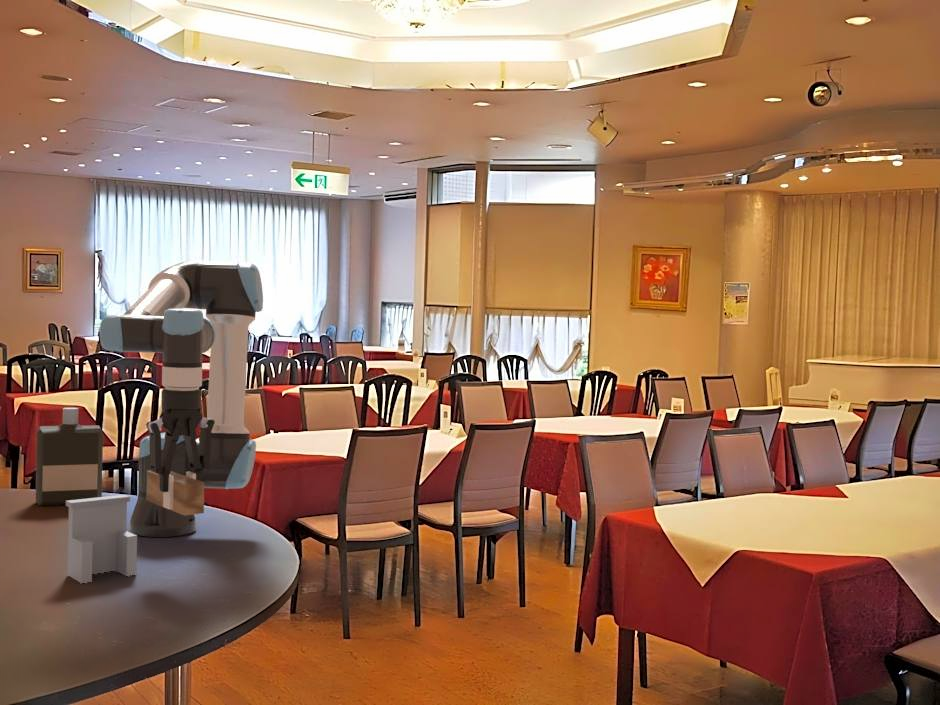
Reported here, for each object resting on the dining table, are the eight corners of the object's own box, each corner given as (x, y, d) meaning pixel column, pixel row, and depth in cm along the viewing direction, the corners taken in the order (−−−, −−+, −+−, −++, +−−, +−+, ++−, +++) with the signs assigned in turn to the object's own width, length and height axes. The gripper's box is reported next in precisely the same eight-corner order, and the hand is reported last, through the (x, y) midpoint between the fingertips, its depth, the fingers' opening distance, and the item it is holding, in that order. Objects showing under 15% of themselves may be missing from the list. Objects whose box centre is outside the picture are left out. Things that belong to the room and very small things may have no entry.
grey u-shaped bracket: (122, 566, 209) (124, 494, 208) (138, 574, 203) (140, 500, 202) (64, 575, 200) (65, 500, 200) (78, 584, 195) (80, 507, 194)
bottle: (35, 501, 268) (37, 406, 267) (99, 498, 275) (101, 406, 274) (36, 507, 261) (38, 410, 260) (102, 504, 268) (104, 409, 266)
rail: (163, 497, 208) (164, 468, 208) (203, 513, 196) (204, 482, 196) (145, 500, 206) (145, 470, 205) (184, 515, 193) (185, 484, 193)
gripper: (212, 384, 206) (209, 498, 208) (131, 387, 195) (129, 508, 196) (230, 388, 201) (227, 505, 202) (148, 391, 189) (146, 515, 191)
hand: (179, 506), depth 199 cm, fingers closed on rail, 4 cm apart
